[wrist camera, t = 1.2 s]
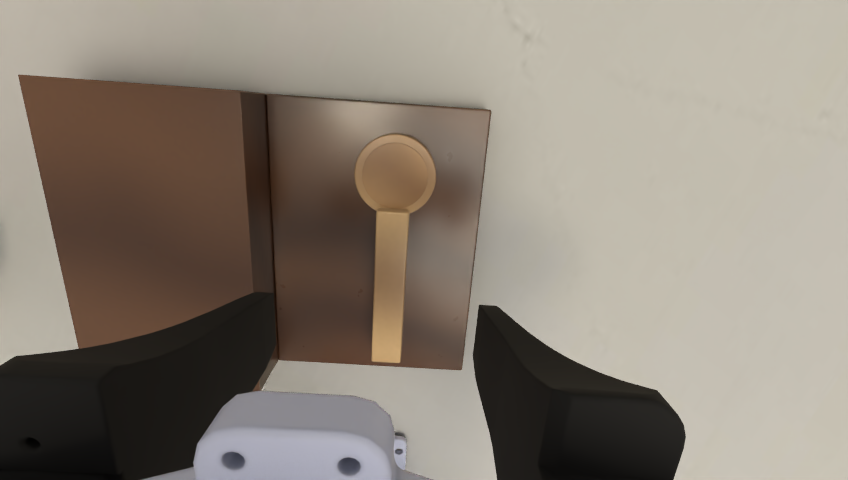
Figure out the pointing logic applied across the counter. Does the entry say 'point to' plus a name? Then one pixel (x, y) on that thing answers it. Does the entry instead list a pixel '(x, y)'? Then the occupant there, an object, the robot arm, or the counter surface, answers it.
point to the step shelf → (250, 213)
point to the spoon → (392, 226)
